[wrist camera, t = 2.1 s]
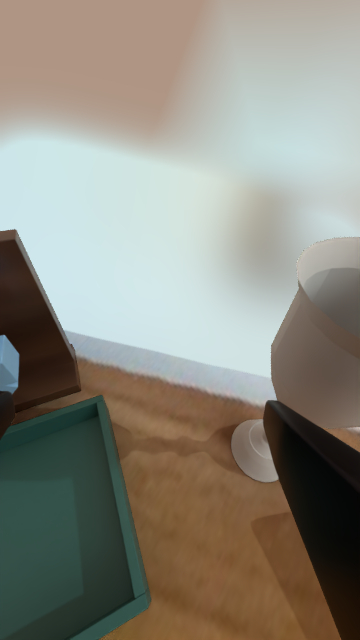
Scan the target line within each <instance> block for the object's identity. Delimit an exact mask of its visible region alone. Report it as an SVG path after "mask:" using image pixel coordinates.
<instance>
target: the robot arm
mask: <svg viewBox="0 0 360 640" xmlns="http://www.w3.org/2000/svg"><path fill="white" fill-rule="evenodd" d="M14 416H15V406H14V401H13V395H12V393H11V392H9V391H0V440H1V438H2V437H3V435H4V433H5V432H6V430H7V429H8V427H9V425H10V424H11V422H12V420H13V419H14ZM263 427H264V431H265V434H266V438H267V442H268V445H269V449H270V453H271V456H272V460H273V463H274V467H275V470H276V473H277V475H278V478H279V481H280V483H281V486H282V488H283V491H284V494H285V496H286V499H287V501H288V504H289V506H290V509H291V511H292V514H293V517H294V519H295V522H296V524H297V527H298V529H299V532H300V535H301V537H302V540H303V542H304V545H305V547H306V550H307V553H308V555H309V558H310V560H311V563H312V565H313V568H314V570H315V573H316V576H317V578H318V581H319V583H320V586H321V588H322V591H323V594H324V596H325V599H326V601H327V604H328V606H329V609H330V611H331V614H332V617H333V619H334V622H335V624H336V627H337V629H338V632H339V635H340V637H341V640H360V452H358V451H357V450H355V449H353V448H352V447H350V446H349V445H347V444H346V443H344V442H343V441H341V440H339V439H338V438H336V437H335V436H333V435H332V434H330V433H328V432H327V431H325V430H324V429H322V428H321V427H319V426H318V425H316V424H314V423H313V422H311V421H310V420H308V419H307V418H305V417H303V416H302V415H300V414H299V413H297V412H296V411H294V410H293V409H291V408H289V407H288V406H286V405H285V404H283V403H282V402H280V401H274V400H268V401H267V402H266V405H265V411H264V417H263Z"/></svg>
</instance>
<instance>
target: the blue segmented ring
mask: <svg viewBox="0 0 360 640" xmlns="http://www.w3.org/2000/svg"><path fill="white" fill-rule="evenodd" d="M18 372H19V353H18V352H17V351H16V349H15V348H14V347H13V345H12V344H11V343H10V341H9V340H8V339H7V337H6V336H5V335H1V336H0V391H9V392H11V393H12V394H13V393H14V391H15V390H16V389H17V388H18Z"/></svg>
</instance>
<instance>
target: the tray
mask: <svg viewBox="0 0 360 640" xmlns="http://www.w3.org/2000/svg"><path fill="white" fill-rule="evenodd" d="M150 602H151V596H150V592H149V587H148V583H147V579H146V574H145V570H144V565H143V561H142V556H141V552H140V548H139V543H138V539H137V534H136V530H135V526H134V521H133V517H132V512H131V508H130V504H129V499H128V495H127V490H126V486H125V481H124V477H123V473H122V468H121V464H120V459H119V455H118V451H117V446H116V442H115V437H114V433H113V428H112V424H111V420H110V415H109V411H108V408H107V405H106V403H105V401H104V398H103V396H102V395H99V396H96V397H93V398H91V399H88V400H85V401H82V402H79V403H76V404H73V405H70V406H67V407H64V408H62V409H59V410H56V411H53V412H50V413H47V414H44V415H41V416H38V417H35V418H33V419H30V420H27V421H24V422H21V423H18V424H15V425H12V426H9V427H8V429H7V430H6V432H5V433H4V435H3V437H2V438H1V440H0V640H99V639H100V638H102V637H103V636H105V635H107V634H108V633H110V632H111V631H113V630H114V629H116V628H118V627H119V626H121V625H122V624H124V623H125V622H127V621H129V620H130V619H132V618H133V617H135V616H137V615H138V614H140V613H141V612H143V611H144V610H146V609H148V607H149V604H150Z"/></svg>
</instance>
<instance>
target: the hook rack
mask: <svg viewBox="0 0 360 640" xmlns="http://www.w3.org/2000/svg"><path fill="white" fill-rule="evenodd" d="M1 335H5V336H6V337H7V339H8V340H9V341H10V343H11V344H12V345H13V347H14V348H15V349H16V351H17V352H18V353H19V372H18V388H17V389H16V390H15V391H14V393H13V394H12V395H13V401H14V406H15V412H18V411H21V410H24V409H27V408H30V407H33V406H36V405H39V404H42V403H45V402H48V401H51V400H54V399H57V398H60V397H63V396H66V395H69V394H72V393H75V392H78V391H81V386H80V380H79V374H78V367H77V361H76V355H75V350H74V347H73V345H72V344H70V343H69V341H68V339H67V337H66V335H65V333H64V331H63V328H62V326H61V324H60V322H59V320H58V318H57V316H56V314H55V311H54V309H53V307H52V305H51V303H50V301H49V299H48V297H47V294H46V293H45V290H44V288H43V286H42V284H41V282H40V279H39V277H38V275H37V273H36V271H35V269H34V267H33V265H32V262H31V260H30V258H29V256H28V254H27V252H26V250H25V248H24V245H23V243H22V241H21V239H20V237H19V235H18V233H17V231H16V230H15V229H14V230H7V231H0V336H1Z"/></svg>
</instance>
